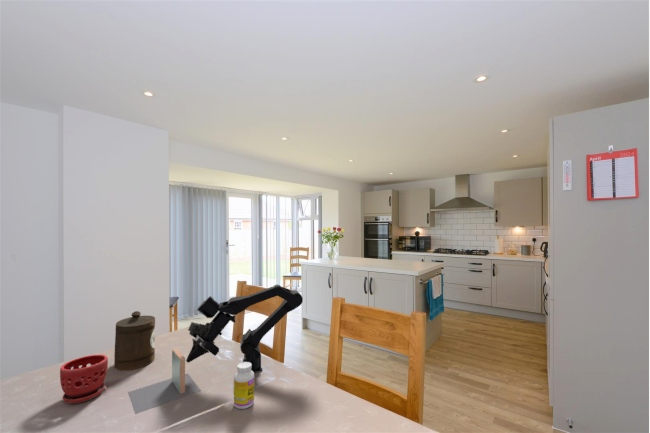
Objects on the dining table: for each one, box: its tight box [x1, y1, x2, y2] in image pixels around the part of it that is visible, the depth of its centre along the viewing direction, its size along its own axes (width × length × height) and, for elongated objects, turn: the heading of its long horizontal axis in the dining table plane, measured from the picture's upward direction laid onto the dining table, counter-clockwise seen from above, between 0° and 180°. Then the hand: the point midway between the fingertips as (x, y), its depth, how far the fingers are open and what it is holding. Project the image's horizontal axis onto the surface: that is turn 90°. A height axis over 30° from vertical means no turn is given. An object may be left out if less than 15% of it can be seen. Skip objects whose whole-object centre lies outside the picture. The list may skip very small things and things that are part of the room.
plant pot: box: [59, 354, 109, 404], centre depth 104 cm, size 13×13×12 cm
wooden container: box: [113, 310, 156, 371], centre depth 129 cm, size 15×15×22 cm
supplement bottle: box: [233, 361, 255, 410], centre depth 100 cm, size 7×7×13 cm
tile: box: [171, 347, 186, 394], centre depth 109 cm, size 2×11×12 cm, turn 41°
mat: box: [128, 373, 202, 415], centre depth 106 cm, size 20×16×1 cm
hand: (187, 361), depth 111 cm, fingers closed
